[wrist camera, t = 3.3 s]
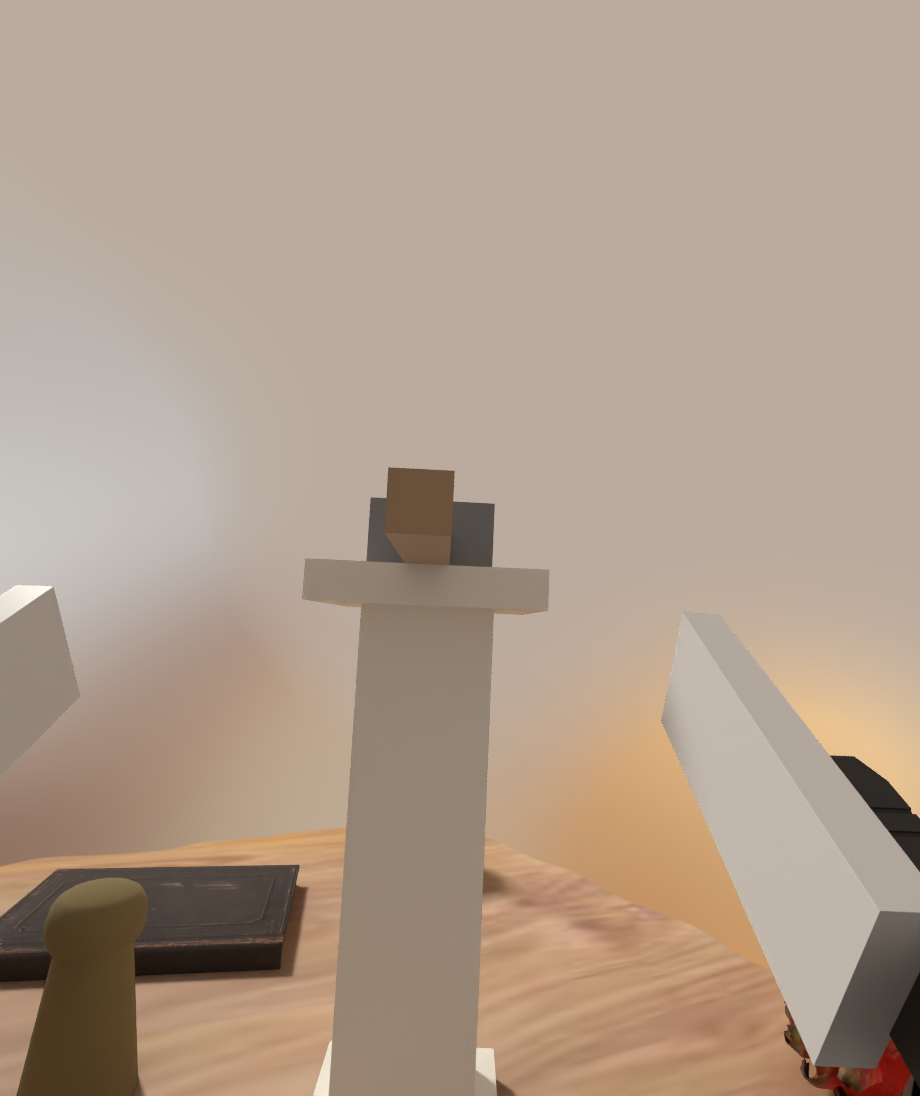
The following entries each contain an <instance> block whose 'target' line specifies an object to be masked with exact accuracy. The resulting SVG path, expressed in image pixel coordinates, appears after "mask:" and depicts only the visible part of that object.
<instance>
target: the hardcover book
mask: <svg viewBox="0 0 920 1096" xmlns="http://www.w3.org/2000/svg"><path fill="white" fill-rule="evenodd" d="M298 871H299V865H263V866H207V867H150V868H93V869H57V870H56V871H55V872H53V873H52V874H51V875H50V876H49V877H47V878H46V879H45V880H44V881H43V882H42V883H40V884H39V885H38V886H37V887H36V888H34V889H33V890H32V891H31V892H30V893H28V894H27V895H26V896H25V897H24V898H22V899H21V900H20V901H19V902H18V903H17V904H15V905H14V906H13V907H12V908H11V909H9V910H8V911H7V912H6V913H5V914H3V915H2V916H1V917H0V982H8V981H30V980H46V979H47V975H48V971H49V967H50V964H51V960H52V957H51V955H50V954H49V953H48V951H47V949H46V947H45V943H44V937H43V932H44V924H45V921H46V918H47V916H48V913H49V910H50V908H51V906H52V905H53V903H54V902H55V900H56V899H57V898H58V897H59V896H60V895H61V894H62V893H64V892H65V891H67V890H69V889H70V888H72V887H74V886H76V885H78V884H81V883H84V882H87V881H92V880H96V879H103V878H125V879H129V880H132V881H134V882H137V883H139V884H140V885H141V886H142V888H143V889H144V891H145V893H146V895H147V901H148V909H147V917H146V922H145V925H144V928H143V930H142V932H141V933H140V935H139V936H138V937H137V939H136V940H135V941H134V962H135V976H140V975H162V974H184V973H207V972H229V971H251V970H273V969H280V962H281V950H282V945H283V940H284V935H285V931H286V926H287V922H288V917H289V912H290V908H291V903H292V899H293V894H294V889H295V885H296V880H297V876H298Z"/></svg>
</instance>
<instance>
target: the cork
mask: <svg viewBox="0 0 920 1096" xmlns="http://www.w3.org/2000/svg"><path fill="white" fill-rule="evenodd" d="M147 909H148V901H147V895H146V893H145V891H144V889H143V888H142V886H141V885H140V884H139V883H137V882H134V881H132V880H129V879H125V878H103V879H96V880H92V881H87V882H84V883H81V884H78V885H76V886H74V887H72V888H70V889H69V890H67V891H65V892H64V893H62V894H61V895H60V896H59V897H58V898H57V899H56V900H55V902H54V903H53V905H52V906H51V908H50V910H49V913H48V916H47V918H46V921H45V924H44V932H43V937H44V943H45V947H46V949H47V951H48V953H49V954H50V955H51V957H52V960H51V964H50V967H49V971H48V975H47V979H46V983H45V987H44V991H43V995H42V999H41V1002H40V1006H39V1010H38V1014H37V1018H36V1022H35V1026H34V1030H33V1034H32V1037H31V1041H30V1045H29V1049H28V1053H27V1057H26V1061H25V1065H24V1069H23V1072H22V1076H21V1080H20V1084H19V1088H18V1092H17V1096H132V1094H133V1092H134V1090H135V1088H136V1086H137V1078H138V1064H137V1030H136V996H135V962H134V941H135V940H136V939H137V937H138V936H139V935H140V933H141V932H142V930H143V928H144V925H145V922H146V917H147Z"/></svg>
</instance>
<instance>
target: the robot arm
mask: <svg viewBox="0 0 920 1096" xmlns="http://www.w3.org/2000/svg"><path fill="white" fill-rule="evenodd" d="M79 697H80V693H79V689H78V685H77V681H76V677H75V673H74V669H73V665H72V660H71V656H70V652H69V648H68V644H67V640H66V636H65V632H64V628H63V624H62V620H61V616H60V611H59V607H58V603H57V599H56V595H55V591H54V587H53V586H28V585H16V586H15V587H13V588H11V589H10V590H8V591H7V592H5V593H3V594H2V595H0V777H1V776H2V775H3V774H4V773H5V772H6V770H8V768H10V767H11V765H13V764H14V763H15V762H16V760H18V758H20V757H21V756H22V754H24V752H25V751H26V750H27V749H28V748H29V747H30V746H31V745H32V744H33V743H34V742H35V741H36V740H37V739H38V738H39V737H40V736H41V735H42V734H43V733H44V732H45V731H46V730H47V729H48V728H49V727H50V726H51V725H52V724H53V723H54V722H55V721H56V720H57V719H58V718H59V717H60V716H61V715H62V714H63V713H64V712H65V711H66V710H67V709H68V708H69V707H70V706H71V705H72V704H73V703H74V701H76V700H77V699H78V698H79ZM661 721H662V724H663V726H664V728H665V730H666V733H667V735H668V737H669V739H670V742H671V744H672V746H673V749H674V751H675V753H676V755H677V757H678V760H679V762H680V764H681V767H682V768H683V771H684V773H685V776H686V778H687V780H688V782H689V785H690V787H691V789H692V791H693V794H694V796H695V798H696V800H697V803H698V805H699V807H700V809H701V812H702V814H703V816H704V819H705V821H706V823H707V826H708V828H709V830H710V832H711V835H712V837H713V839H714V841H715V844H716V846H717V848H718V850H719V852H720V855H721V857H722V859H723V862H724V864H725V866H726V869H727V871H728V873H729V875H730V878H731V880H732V882H733V884H734V886H735V889H736V891H737V893H738V896H739V898H740V900H741V902H742V905H743V907H744V909H745V912H746V914H747V916H748V918H749V921H750V923H751V925H752V927H753V930H754V932H755V934H756V936H757V938H758V941H759V943H760V946H761V948H762V950H763V952H764V954H765V957H766V959H767V961H768V964H769V966H770V968H771V970H772V973H773V975H774V977H775V979H776V982H777V984H778V986H779V989H780V991H781V993H782V995H783V998H784V1000H785V1002H786V1004H787V1007H788V1009H789V1011H790V1013H791V1016H792V1018H793V1020H794V1023H795V1025H796V1027H797V1029H798V1032H799V1034H800V1036H801V1038H802V1041H803V1043H804V1045H805V1047H806V1050H807V1052H808V1054H809V1056H810V1059H811V1061H812V1063H813V1066H827V1067H848V1068H870V1069H876V1067H877V1065H878V1063H879V1061H880V1059H881V1057H882V1055H883V1053H884V1051H885V1049H886V1047H887V1045H888V1043H889V1041H890V1039H892V1041H893V1042H894V1044H895V1046H896V1048H897V1049H898V1051H899V1053H900V1055H901V1057H902V1058H903V1060H904V1062H905V1064H906V1065H907V1067H908V1069H909V1071H910V1073H911V1074H912V1075H911V1077H910V1079H909V1081H908V1082H907V1084H906V1086H905V1088H904V1090H903V1092H902V1094H901V1096H920V818H919V817H918V816H917V815H916V814H912V813H911V808H910V807H909V806H908V804H907V803H906V802H905V801H904V800H903V799H902V797H901V796H900V795H899V794H898V793H897V792H896V790H895V789H894V788H893V787H892V786H891V784H890V783H889V782H888V781H887V780H886V779H884V778H883V777H881V776H880V775H879V774H877V773H876V772H875V771H873V770H872V769H871V768H869V767H868V766H866V765H865V764H864V763H862V762H861V761H860V760H858V759H856V758H855V757H852V756H850V757H849V756H829V755H828V753H827V752H826V750H825V749H824V748H823V747H822V745H821V744H820V743H819V742H818V740H817V739H816V738H815V736H814V735H813V734H812V732H811V731H810V730H809V729H808V727H807V726H806V725H805V723H804V722H803V721H802V720H801V718H800V717H799V716H798V714H797V713H796V712H795V711H794V709H793V708H792V707H791V705H790V704H789V703H788V702H787V700H786V699H785V698H784V696H783V695H782V694H781V692H780V691H779V690H778V689H777V687H776V686H775V685H774V683H773V682H772V681H771V680H770V678H769V677H768V676H767V674H766V673H765V672H764V671H763V669H762V668H761V667H760V665H759V664H758V663H757V661H756V660H755V659H754V658H753V656H752V655H751V654H750V652H749V651H748V650H747V649H746V647H745V646H744V645H743V644H742V642H741V641H740V640H739V638H738V637H737V636H736V634H735V633H734V632H733V631H732V629H731V628H730V627H729V625H728V624H727V623H726V622H725V620H724V619H723V618H722V616H721V615H720V614H708V613H707V614H706V613H684V612H683V613H682V618H681V624H680V629H679V634H678V639H677V644H676V649H675V654H674V659H673V664H672V669H671V674H670V680H669V685H668V689H667V694H666V699H665V705H664V710H663V715H662V720H661Z"/></svg>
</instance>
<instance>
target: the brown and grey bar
mask: <svg viewBox="0 0 920 1096" xmlns="http://www.w3.org/2000/svg"><path fill="white" fill-rule="evenodd" d="M453 491H454V471H445V470H426V469H407V468H389V469H388V483H387V498H371V504H370V518H369V532H368V533H369V534H368V547H367V548H368V549H367V561H370V562H392V563H413V564H434V565H456V566H477V567H492V555H493V530H494V529H493V528H494V506H495V505H494V504H487V503H468V502H453Z"/></svg>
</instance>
